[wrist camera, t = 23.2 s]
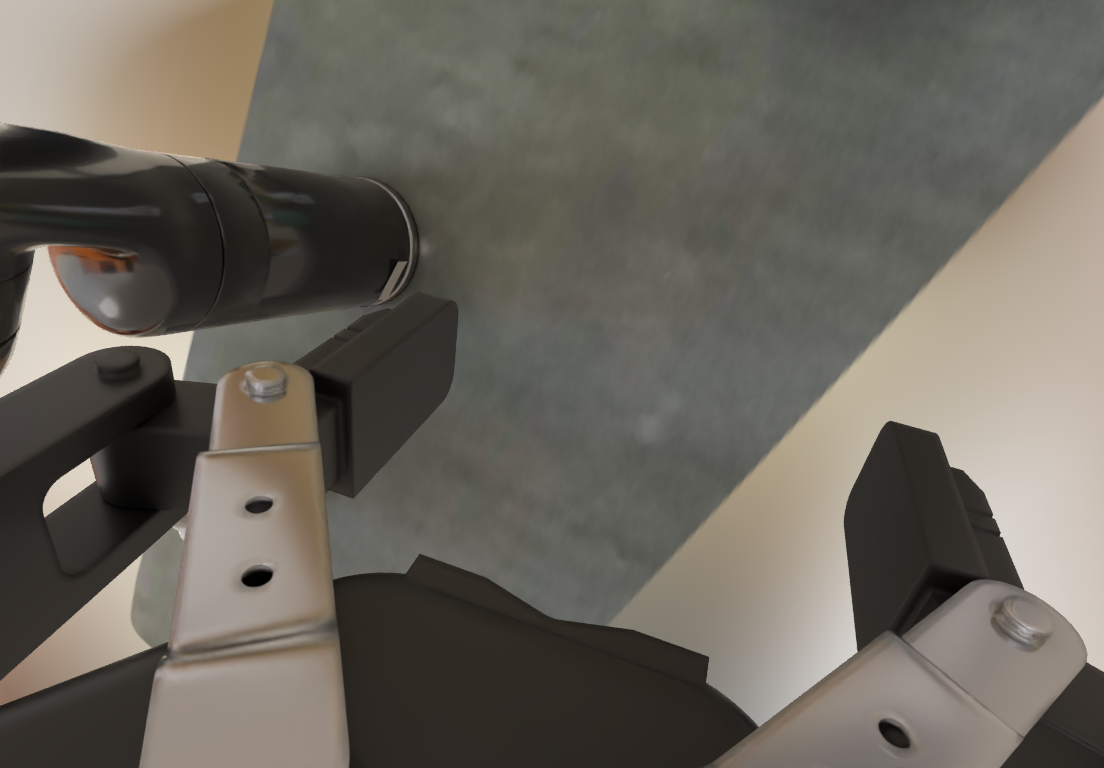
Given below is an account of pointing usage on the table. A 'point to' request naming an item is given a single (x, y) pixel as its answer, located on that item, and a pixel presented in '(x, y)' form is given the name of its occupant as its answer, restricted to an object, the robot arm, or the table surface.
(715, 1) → the table surface
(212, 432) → the robot arm
